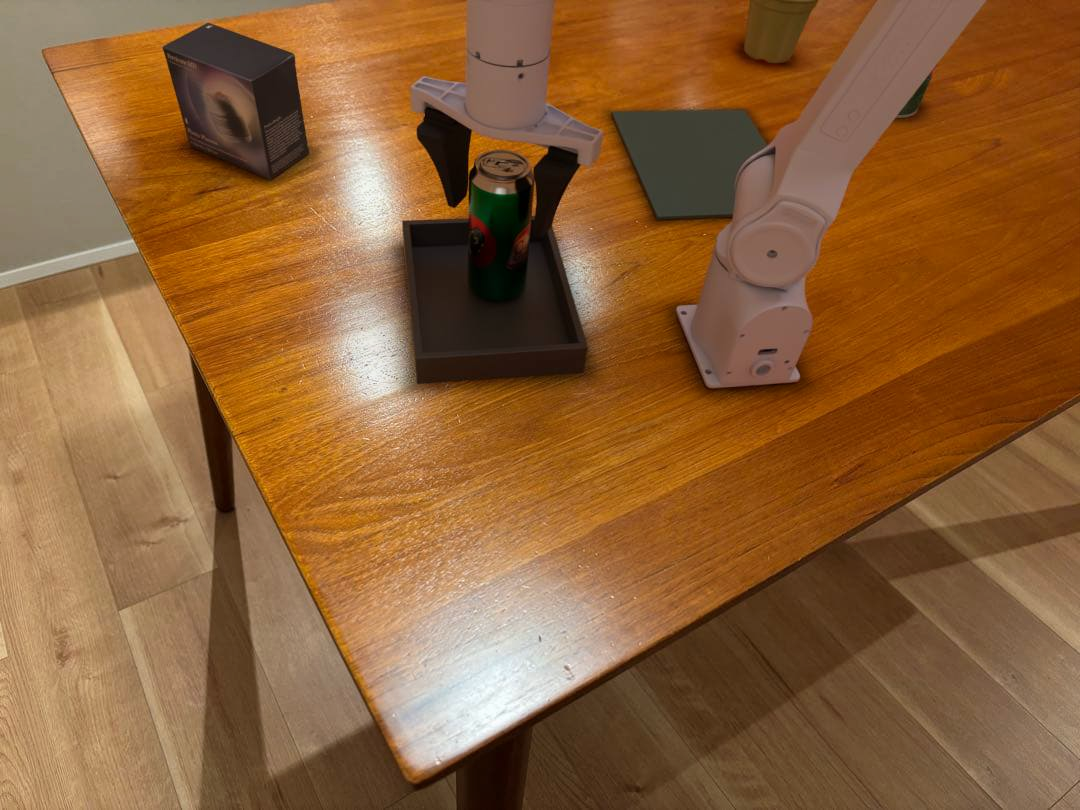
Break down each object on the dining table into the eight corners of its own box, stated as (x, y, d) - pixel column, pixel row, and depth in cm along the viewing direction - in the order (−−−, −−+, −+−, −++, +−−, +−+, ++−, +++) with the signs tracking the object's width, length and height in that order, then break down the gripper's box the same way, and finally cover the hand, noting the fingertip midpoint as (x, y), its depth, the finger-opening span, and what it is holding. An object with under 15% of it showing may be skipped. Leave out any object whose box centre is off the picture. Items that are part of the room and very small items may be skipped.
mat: (808, 214, 82) (810, 211, 82) (656, 220, 80) (657, 216, 79) (743, 112, 95) (744, 109, 95) (611, 114, 93) (611, 111, 92)
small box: (184, 148, 82) (156, 44, 74) (230, 121, 86) (207, 19, 78) (269, 183, 79) (248, 78, 71) (312, 152, 83) (297, 50, 75)
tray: (583, 372, 65) (588, 347, 63) (416, 384, 63) (415, 358, 61) (546, 240, 76) (549, 214, 74) (403, 246, 74) (402, 220, 72)
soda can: (518, 310, 69) (528, 188, 60) (460, 299, 69) (461, 176, 60) (531, 274, 72) (541, 153, 63) (475, 263, 73) (478, 141, 64)
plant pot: (716, 41, 107) (733, -29, 101) (774, 33, 110) (794, -36, 104) (757, 75, 102) (778, 3, 95) (817, 65, 105) (841, -5, 98)
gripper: (628, 52, 56) (601, 217, 66) (442, 0, 59) (443, 165, 69) (590, 95, 52) (567, 265, 62) (391, 36, 55) (400, 207, 65)
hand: (499, 215), depth 65 cm, fingers open, 7 cm apart
